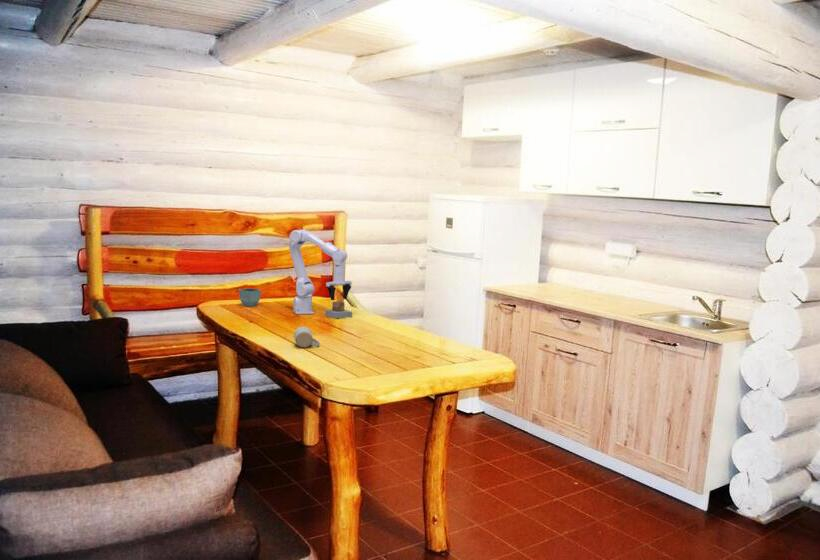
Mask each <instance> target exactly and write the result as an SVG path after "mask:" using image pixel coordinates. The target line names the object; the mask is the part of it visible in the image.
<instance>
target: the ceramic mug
mask: <svg viewBox="0 0 820 560" xmlns="http://www.w3.org/2000/svg"><path fill="white" fill-rule="evenodd" d="M295 329H296V330H295V331H294V333H293V338H294V341H295V344H296V345H297V346H298V347H299V348H305V349H307V348H308V347H310V346H311V345H312V346H314V347H319V346H320V344H321V343H320V341H318V340H317V339H315V338H314V337H313V333H312V331H311V329H310V328H309V327H306V326H300V327H298V328H295Z"/></svg>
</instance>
